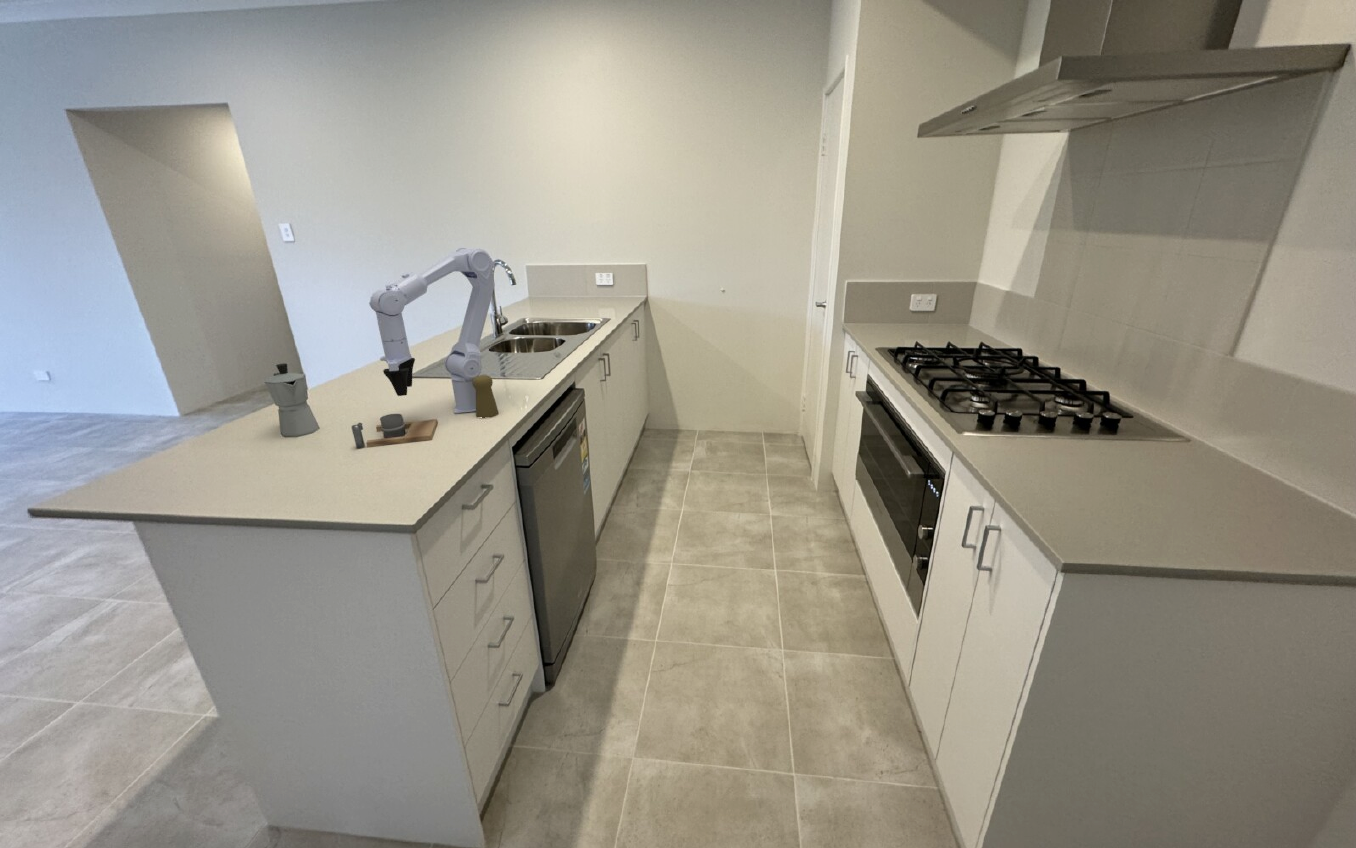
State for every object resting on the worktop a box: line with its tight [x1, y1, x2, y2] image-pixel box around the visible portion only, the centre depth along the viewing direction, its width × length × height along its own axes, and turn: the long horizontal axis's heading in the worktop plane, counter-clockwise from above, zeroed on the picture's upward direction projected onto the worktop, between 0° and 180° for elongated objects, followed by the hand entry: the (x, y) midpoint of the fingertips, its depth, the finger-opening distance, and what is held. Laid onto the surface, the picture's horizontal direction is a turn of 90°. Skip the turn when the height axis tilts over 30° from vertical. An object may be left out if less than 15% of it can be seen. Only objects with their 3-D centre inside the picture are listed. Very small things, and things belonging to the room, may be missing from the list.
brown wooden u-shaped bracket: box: [365, 418, 439, 448], centre depth 140 cm, size 14×12×1 cm
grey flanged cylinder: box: [379, 413, 407, 439], centre depth 139 cm, size 5×5×5 cm
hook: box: [351, 422, 366, 450], centre depth 133 cm, size 2×5×6 cm, turn 16°
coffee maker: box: [264, 363, 321, 438], centre depth 141 cm, size 15×9×18 cm, turn 47°
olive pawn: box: [472, 374, 499, 419], centre depth 151 cm, size 6×6×11 cm
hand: (405, 390), depth 143 cm, fingers open, 7 cm apart
